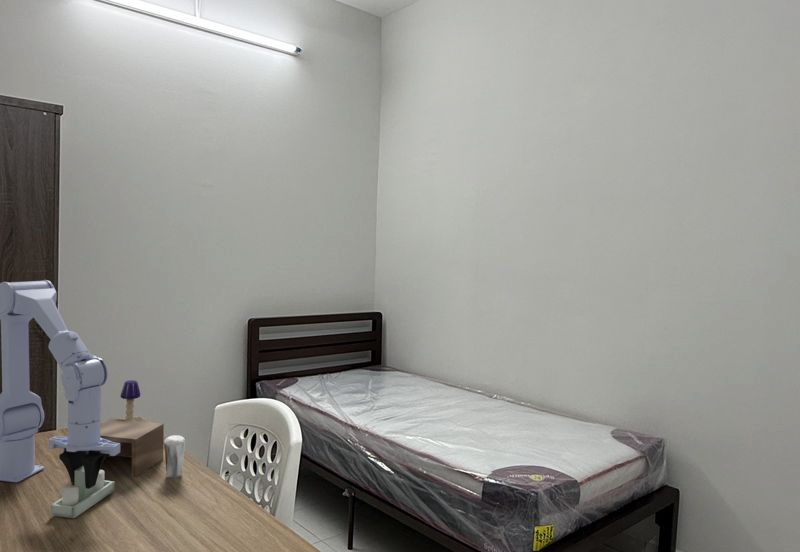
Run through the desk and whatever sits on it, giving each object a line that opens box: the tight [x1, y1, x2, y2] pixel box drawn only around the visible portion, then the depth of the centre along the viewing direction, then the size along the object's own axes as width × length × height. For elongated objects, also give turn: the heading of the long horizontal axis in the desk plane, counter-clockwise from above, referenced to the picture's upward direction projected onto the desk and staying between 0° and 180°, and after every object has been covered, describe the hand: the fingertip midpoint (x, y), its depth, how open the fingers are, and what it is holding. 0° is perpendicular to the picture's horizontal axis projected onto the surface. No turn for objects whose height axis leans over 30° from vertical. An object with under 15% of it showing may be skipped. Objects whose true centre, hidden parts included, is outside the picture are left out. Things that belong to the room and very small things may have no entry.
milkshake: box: [163, 433, 188, 479], centre depth 132 cm, size 5×5×10 cm
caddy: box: [50, 466, 115, 519], centre depth 117 cm, size 5×12×7 cm, turn 171°
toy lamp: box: [120, 379, 141, 421], centre depth 149 cm, size 5×5×17 cm
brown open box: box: [86, 418, 165, 478], centre depth 137 cm, size 14×11×9 cm
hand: (84, 485), depth 117 cm, fingers closed on caddy, 2 cm apart
